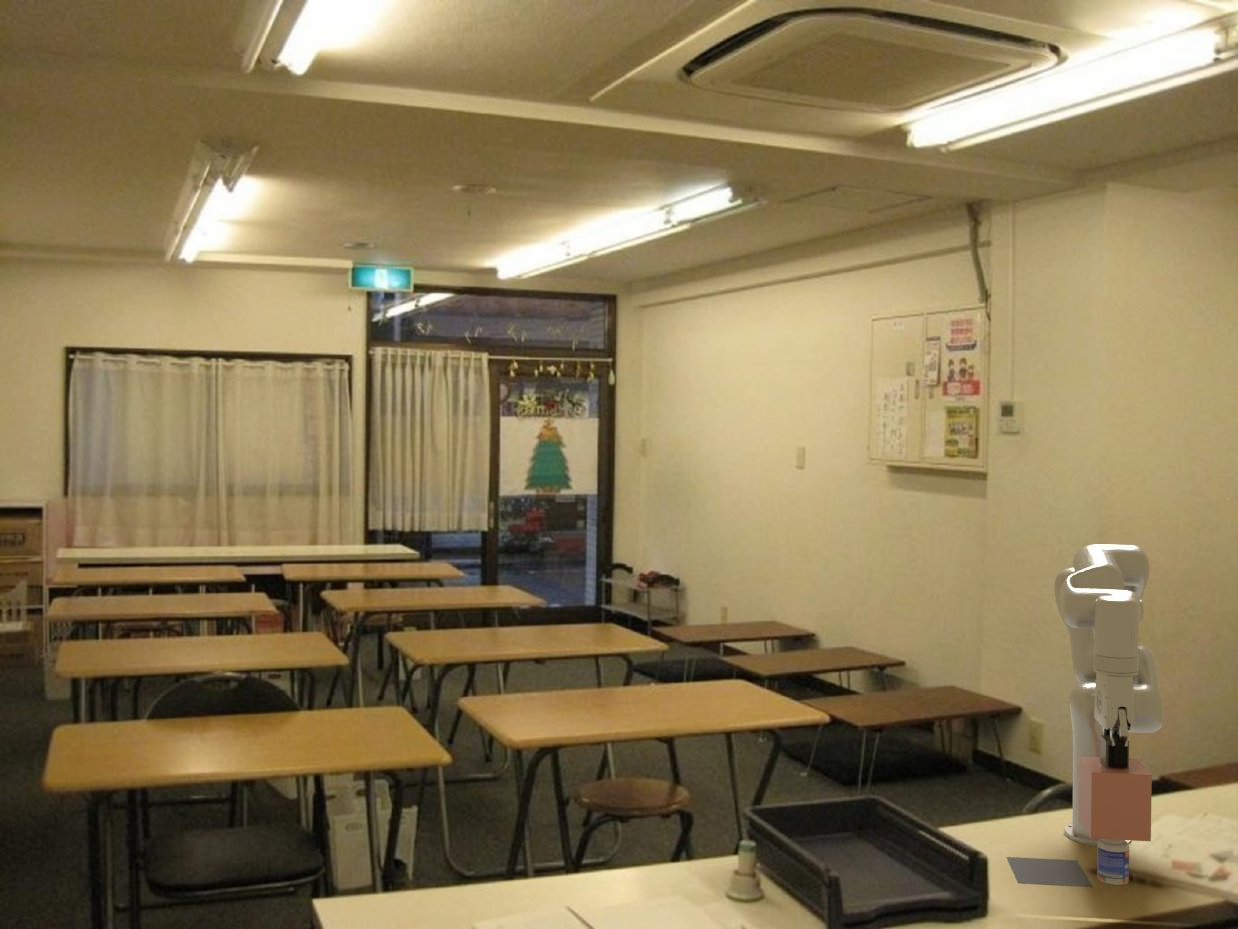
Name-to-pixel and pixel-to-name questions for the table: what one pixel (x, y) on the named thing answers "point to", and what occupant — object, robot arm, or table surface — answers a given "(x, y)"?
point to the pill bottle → (1113, 861)
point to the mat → (1048, 872)
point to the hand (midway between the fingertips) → (1114, 762)
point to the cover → (1114, 798)
